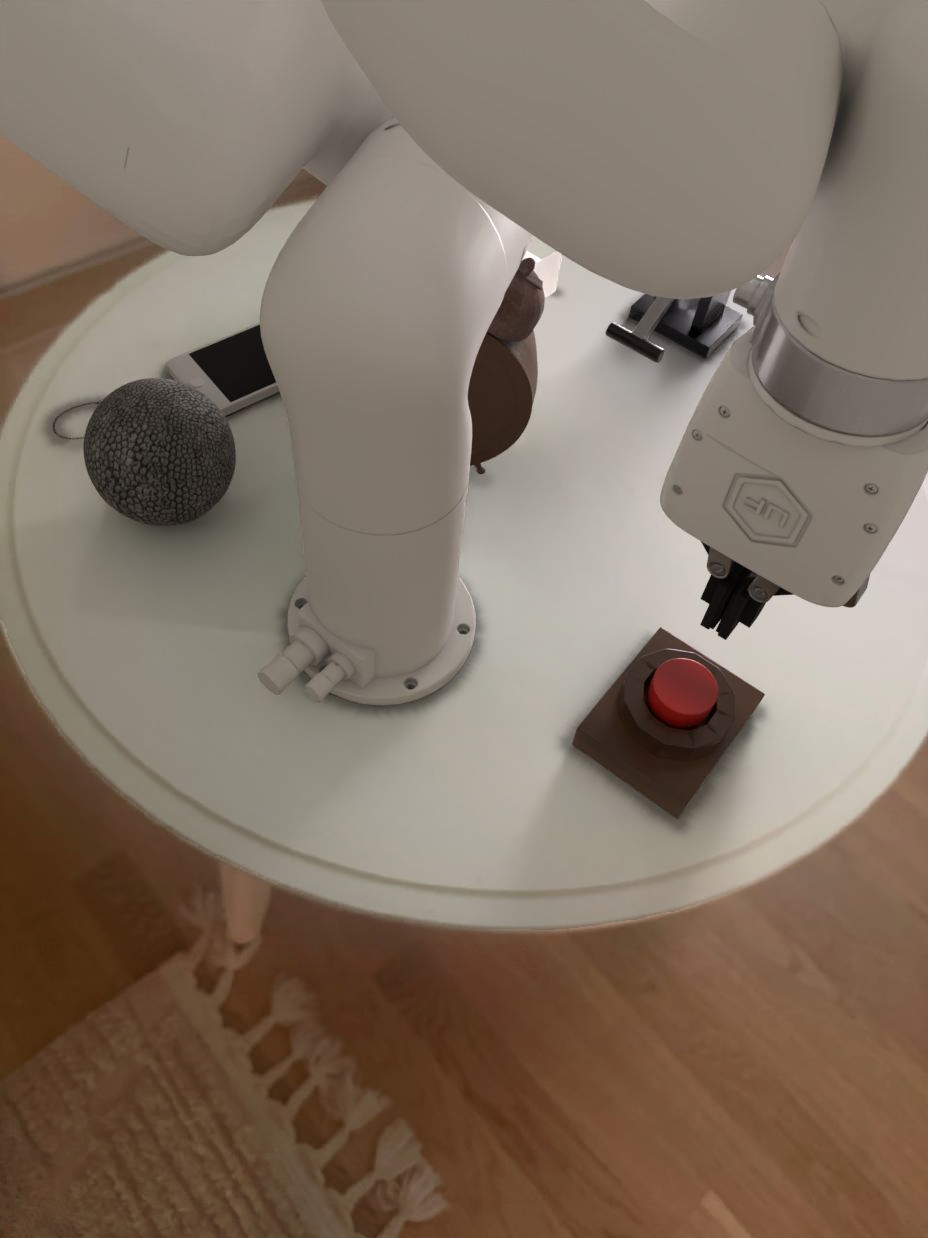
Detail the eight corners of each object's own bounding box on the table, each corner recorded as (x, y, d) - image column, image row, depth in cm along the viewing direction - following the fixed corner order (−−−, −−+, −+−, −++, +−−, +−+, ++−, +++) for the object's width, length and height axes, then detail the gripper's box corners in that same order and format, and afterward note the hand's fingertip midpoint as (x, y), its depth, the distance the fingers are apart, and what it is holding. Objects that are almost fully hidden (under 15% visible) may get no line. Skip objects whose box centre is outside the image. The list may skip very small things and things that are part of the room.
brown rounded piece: (526, 426, 78) (565, 196, 62) (520, 494, 74) (560, 268, 58) (345, 404, 78) (336, 168, 62) (329, 471, 74) (314, 237, 58)
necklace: (138, 434, 75) (135, 423, 74) (52, 444, 73) (48, 434, 73) (136, 400, 77) (133, 389, 76) (52, 410, 76) (49, 399, 75)
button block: (677, 819, 60) (694, 792, 57) (571, 744, 63) (581, 714, 59) (754, 710, 65) (774, 679, 62) (653, 644, 68) (667, 611, 64)
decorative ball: (75, 531, 69) (34, 429, 61) (144, 435, 75) (115, 330, 67) (205, 572, 68) (182, 473, 60) (266, 472, 74) (252, 369, 65)
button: (689, 740, 59) (697, 727, 58) (634, 703, 61) (640, 688, 59) (722, 696, 61) (730, 682, 60) (667, 661, 63) (674, 646, 61)
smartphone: (165, 369, 79) (163, 360, 78) (327, 302, 85) (327, 293, 84) (210, 422, 76) (208, 413, 75) (375, 349, 82) (375, 340, 81)
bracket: (705, 358, 84) (744, 249, 76) (628, 316, 87) (656, 206, 78) (739, 325, 87) (780, 215, 78) (663, 285, 90) (694, 175, 81)
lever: (657, 369, 80) (656, 356, 78) (606, 340, 81) (603, 327, 79) (748, 238, 80) (749, 221, 78) (695, 212, 82) (695, 195, 79)
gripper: (642, 317, 39) (574, 588, 54) (1002, 500, 35) (819, 740, 50) (731, 233, 43) (644, 509, 58) (1068, 388, 38) (878, 644, 53)
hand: (725, 615), depth 54 cm, fingers closed
